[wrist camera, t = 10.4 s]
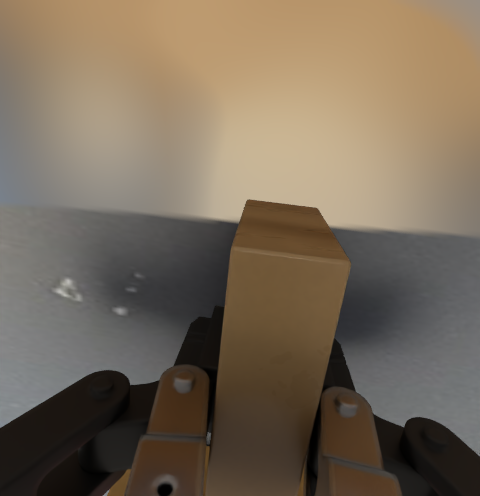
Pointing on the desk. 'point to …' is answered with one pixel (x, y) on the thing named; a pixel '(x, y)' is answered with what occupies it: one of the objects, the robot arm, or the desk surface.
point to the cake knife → (273, 348)
